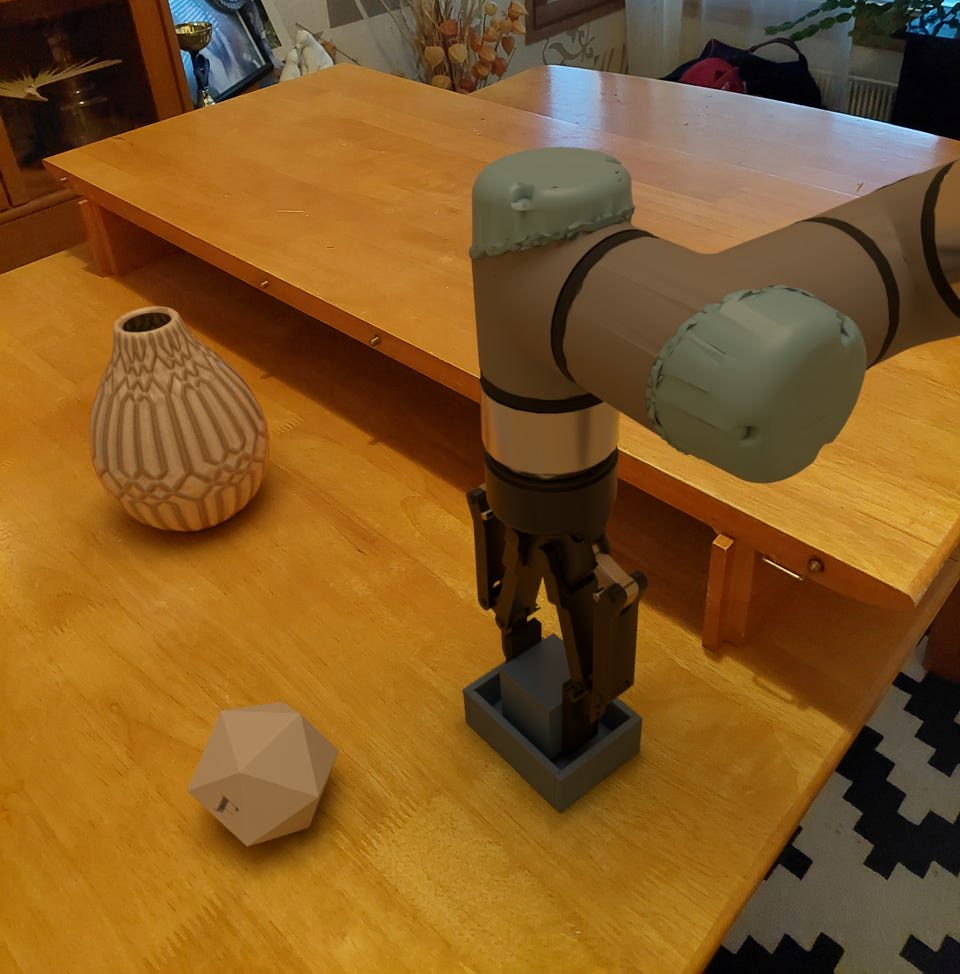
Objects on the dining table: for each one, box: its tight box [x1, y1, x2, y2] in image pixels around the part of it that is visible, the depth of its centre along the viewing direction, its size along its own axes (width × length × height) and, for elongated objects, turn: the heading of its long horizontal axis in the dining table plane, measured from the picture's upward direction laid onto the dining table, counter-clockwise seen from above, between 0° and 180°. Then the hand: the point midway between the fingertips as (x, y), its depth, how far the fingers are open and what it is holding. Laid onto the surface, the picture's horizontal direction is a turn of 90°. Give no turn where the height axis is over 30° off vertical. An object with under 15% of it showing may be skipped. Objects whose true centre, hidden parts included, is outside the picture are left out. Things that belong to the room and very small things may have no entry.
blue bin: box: [462, 636, 644, 814], centre depth 66 cm, size 10×8×4 cm
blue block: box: [500, 632, 602, 760], centre depth 64 cm, size 5×5×5 cm
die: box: [186, 701, 340, 847], centre depth 61 cm, size 8×9×10 cm
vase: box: [88, 305, 270, 533], centre depth 85 cm, size 16×16×20 cm
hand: (551, 715), depth 65 cm, fingers closed on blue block, 5 cm apart
